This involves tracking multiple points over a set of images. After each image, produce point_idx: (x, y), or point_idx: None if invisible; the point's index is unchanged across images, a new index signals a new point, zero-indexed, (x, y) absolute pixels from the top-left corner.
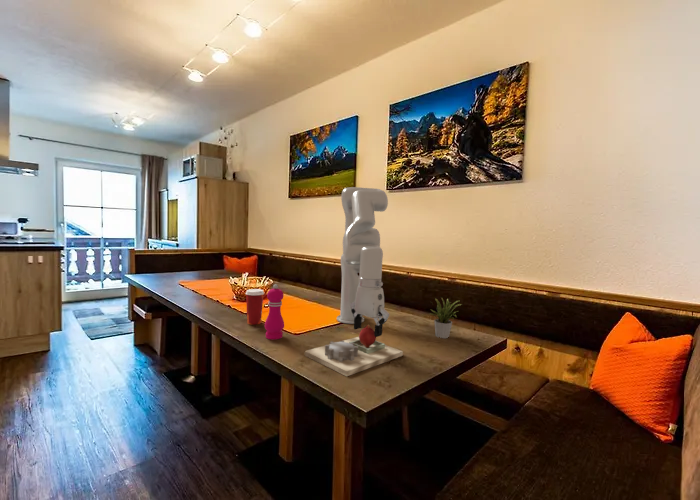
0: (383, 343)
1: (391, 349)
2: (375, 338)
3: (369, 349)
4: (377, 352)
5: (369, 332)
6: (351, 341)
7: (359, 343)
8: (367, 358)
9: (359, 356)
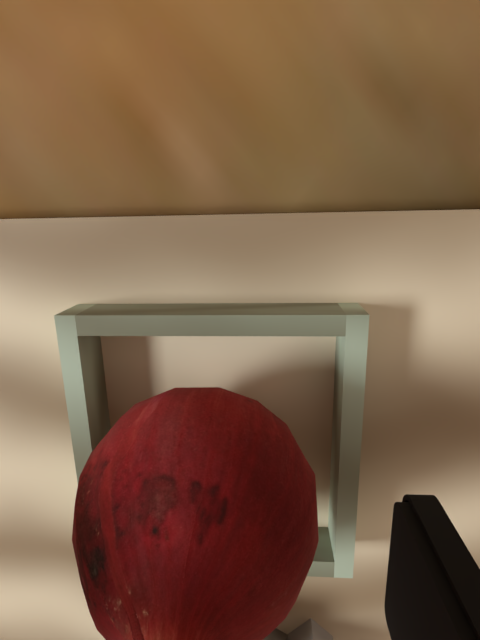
0: (343, 319)
1: (433, 272)
2: (310, 469)
3: (353, 554)
4: (382, 452)
5: (272, 630)
6: (4, 427)
7: (107, 430)
8: None
9: (339, 623)
